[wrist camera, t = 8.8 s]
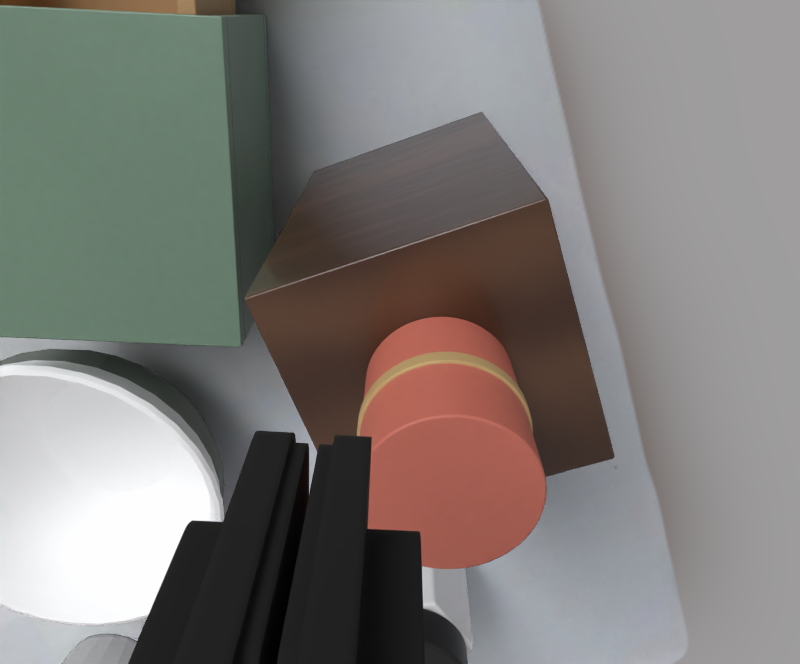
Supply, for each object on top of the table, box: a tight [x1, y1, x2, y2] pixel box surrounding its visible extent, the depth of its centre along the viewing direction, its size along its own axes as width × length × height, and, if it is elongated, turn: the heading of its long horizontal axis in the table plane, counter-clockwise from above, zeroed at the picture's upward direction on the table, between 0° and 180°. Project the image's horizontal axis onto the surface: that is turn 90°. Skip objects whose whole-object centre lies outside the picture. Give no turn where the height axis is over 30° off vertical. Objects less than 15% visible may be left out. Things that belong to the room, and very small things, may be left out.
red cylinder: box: [357, 317, 547, 569], centre depth 20 cm, size 5×5×6 cm
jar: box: [422, 566, 473, 664], centre depth 45 cm, size 9×8×12 cm
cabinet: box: [0, 5, 274, 347], centre depth 34 cm, size 15×13×10 cm
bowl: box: [0, 349, 225, 626], centre depth 43 cm, size 19×19×8 cm
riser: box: [244, 112, 614, 477], centre depth 32 cm, size 10×10×19 cm
